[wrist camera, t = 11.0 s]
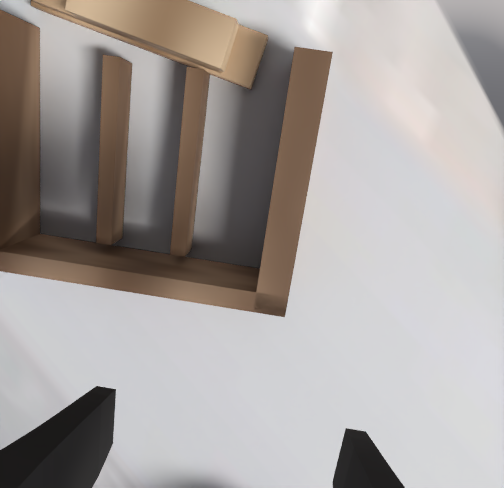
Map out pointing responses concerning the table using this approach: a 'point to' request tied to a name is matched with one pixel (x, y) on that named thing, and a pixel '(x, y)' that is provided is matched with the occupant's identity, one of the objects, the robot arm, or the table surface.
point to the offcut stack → (172, 32)
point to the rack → (114, 178)
